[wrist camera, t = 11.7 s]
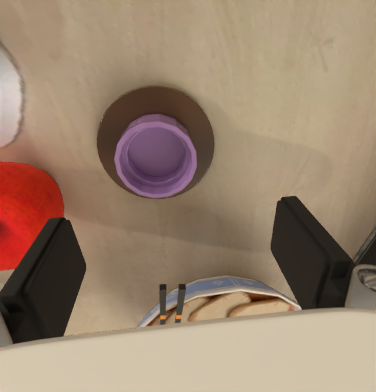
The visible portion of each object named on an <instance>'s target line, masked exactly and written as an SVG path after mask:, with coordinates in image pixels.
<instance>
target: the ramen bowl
mask: <svg viewBox="0 0 376 392" xmlns="http://www.w3.org/2000/svg"><path fill="white" fill-rule="evenodd" d="M297 310H302V309H301V307H300V305H299V304H298V303H296V302H295V301H293V300H292V299H290V298H288V297H287V296H285V295H283V294H281V293H280V292H278V291H276V290H274V289H273V288H271V287H269V286H267V285H265V284H263V283H261V282H259V281H256V280H253V279H247V278H241V277H235V276H228V275H224V276H217V277H210V278H204V279H198V280H195V281H193V282H191V283H188V284H179V288H177V289H175V290H173V291H171V292H170V293H169V294H168V295H167V296H166V284H160V302H159V303H158V304H157V305H156V306H155V307H154V308H153V309H152V310H151V311H150V312H149V313H148V314H147V315H146V316H145V318H144V319H143V320H142V321H141V322H140V324H139V325H138V327H146V326H155V325H164V324H173V323H182V322H191V321H200V320H209V319H219V318H228V317H238V316H247V315H257V314H266V313H276V312H286V311H297ZM138 327H137V328H138Z"/></svg>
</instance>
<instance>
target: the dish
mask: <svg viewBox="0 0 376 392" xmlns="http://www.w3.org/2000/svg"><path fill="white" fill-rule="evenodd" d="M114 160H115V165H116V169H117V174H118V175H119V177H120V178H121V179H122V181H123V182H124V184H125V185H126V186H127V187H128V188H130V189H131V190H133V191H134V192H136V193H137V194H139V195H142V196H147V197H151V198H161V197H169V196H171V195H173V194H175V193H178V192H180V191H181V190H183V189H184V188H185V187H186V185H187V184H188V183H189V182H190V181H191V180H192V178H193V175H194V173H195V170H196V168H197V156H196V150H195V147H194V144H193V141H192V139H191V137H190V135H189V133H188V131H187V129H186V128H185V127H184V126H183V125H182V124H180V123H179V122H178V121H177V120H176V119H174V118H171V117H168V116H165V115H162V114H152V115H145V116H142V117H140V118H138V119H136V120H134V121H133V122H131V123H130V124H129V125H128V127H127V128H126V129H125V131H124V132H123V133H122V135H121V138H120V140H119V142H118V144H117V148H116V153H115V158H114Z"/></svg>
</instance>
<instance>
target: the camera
mask: <svg viewBox="0 0 376 392" xmlns="http://www.w3.org/2000/svg"><path fill="white" fill-rule="evenodd" d="M353 261H354V263H355V264H356V265H357V266H358V265H362V264H367V265H374V266H376V228H375V230H374V231H373V232H372V234H371V235H370V237H369V238H368V240H367V241H366V242H365V244H364V245H363V247H362V248H361V250H360V251H359V252H358V254H357V255H356V257H355V258H354V259H353Z"/></svg>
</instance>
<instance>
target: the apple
mask: <svg viewBox="0 0 376 392" xmlns="http://www.w3.org/2000/svg"><path fill="white" fill-rule="evenodd" d="M63 216H64V204H63V199H62V195H61V192H60V189H59V187H58V184H57V183H56V182H55V181H54V180H53V179H52V178H51V177H50V176H49V175H48V174H47V173H46V172H44V171H42V170H40V169H38V168H36V167H33V166H31V165H28V164H21V163H14V162H0V270H1V271H2V270H10V269H16V267H17V266H18V264H19V263H20V261H21V260H22V258H23V257H24V255H25V254H26V252H27V251H28V249H29V248H30V246H31V245H32V243H33V242H34V240H35V239H36V237H37V236H38V234H39V233H40V231H41V230H42V228H43V227H44V225H45V224H46V222H47V221H48V219H49V218H57V217H63Z"/></svg>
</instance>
